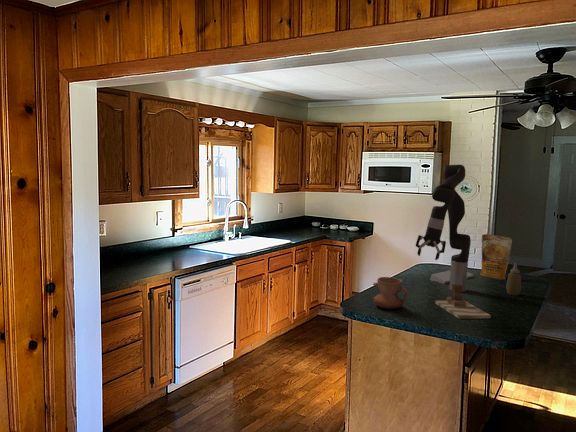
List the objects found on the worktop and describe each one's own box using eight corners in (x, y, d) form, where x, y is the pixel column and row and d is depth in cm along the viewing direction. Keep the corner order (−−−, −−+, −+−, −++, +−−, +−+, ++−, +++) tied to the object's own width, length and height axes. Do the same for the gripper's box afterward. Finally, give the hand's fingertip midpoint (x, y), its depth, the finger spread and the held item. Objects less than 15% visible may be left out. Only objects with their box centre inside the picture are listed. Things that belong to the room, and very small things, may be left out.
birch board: (435, 303, 257) (435, 300, 257) (463, 302, 260) (463, 300, 260) (459, 318, 232) (459, 315, 232) (490, 318, 234) (490, 315, 234)
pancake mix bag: (480, 274, 334) (483, 233, 331) (509, 279, 321) (513, 237, 318) (476, 275, 329) (479, 234, 326) (506, 280, 316) (509, 237, 313)
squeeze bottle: (506, 291, 287) (508, 261, 285) (521, 294, 283) (524, 263, 281) (504, 294, 280) (507, 263, 278) (520, 297, 276) (522, 265, 274)
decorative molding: (471, 281, 325) (458, 274, 332) (473, 275, 323) (460, 268, 330) (442, 288, 303) (429, 280, 310) (445, 281, 301) (431, 274, 308)
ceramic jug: (366, 307, 246) (368, 279, 244) (377, 300, 258) (379, 274, 256) (400, 314, 237) (403, 286, 235) (410, 307, 249) (413, 280, 247)
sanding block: (446, 301, 256) (447, 282, 255) (457, 301, 256) (458, 282, 255) (454, 306, 247) (455, 287, 246) (465, 306, 248) (467, 287, 247)
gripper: (448, 229, 249) (440, 259, 252) (420, 223, 252) (413, 253, 255) (450, 231, 242) (442, 262, 245) (421, 224, 245) (413, 255, 247)
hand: (427, 257), depth 250 cm, fingers open, 8 cm apart
